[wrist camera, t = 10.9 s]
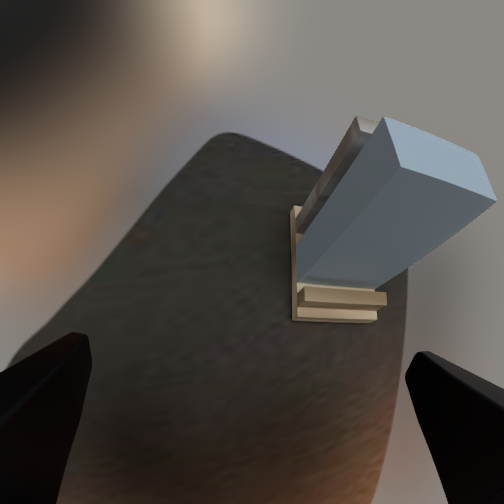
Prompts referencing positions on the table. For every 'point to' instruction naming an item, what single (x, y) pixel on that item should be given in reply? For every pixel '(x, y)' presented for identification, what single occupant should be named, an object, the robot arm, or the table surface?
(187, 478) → the table surface
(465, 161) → the book
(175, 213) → the table surface
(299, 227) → the book stand
